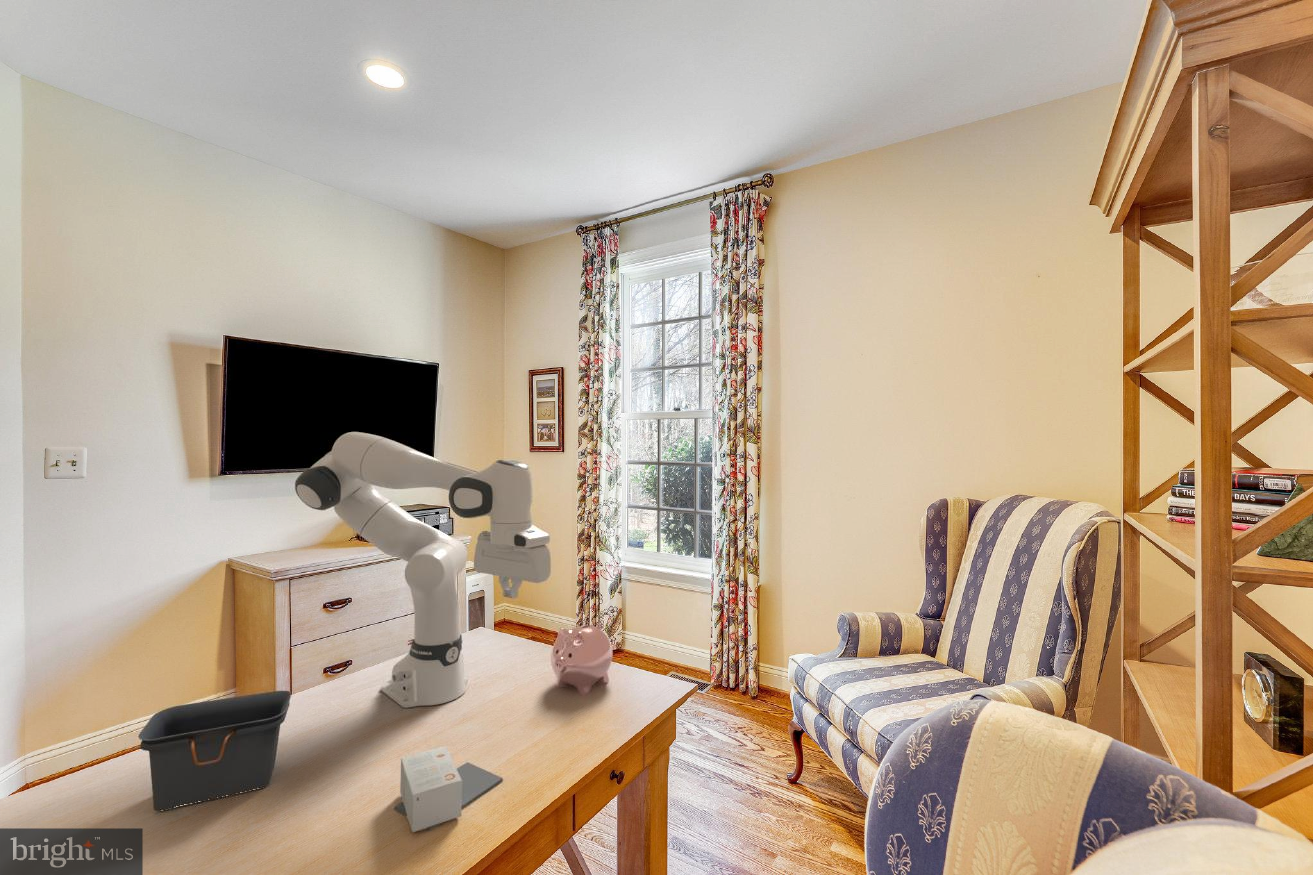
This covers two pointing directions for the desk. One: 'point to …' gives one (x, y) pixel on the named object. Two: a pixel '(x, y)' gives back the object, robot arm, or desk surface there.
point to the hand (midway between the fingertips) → (510, 597)
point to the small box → (430, 788)
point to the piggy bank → (581, 657)
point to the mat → (468, 785)
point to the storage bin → (213, 747)
